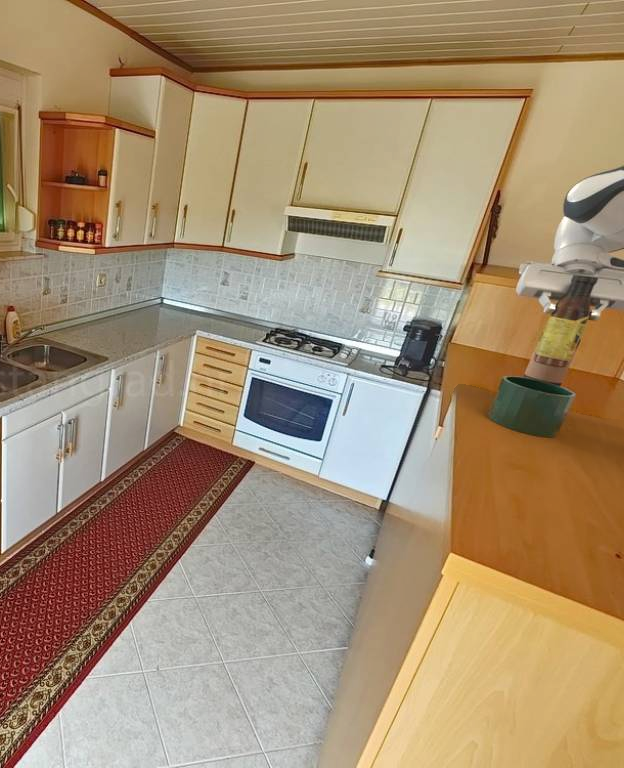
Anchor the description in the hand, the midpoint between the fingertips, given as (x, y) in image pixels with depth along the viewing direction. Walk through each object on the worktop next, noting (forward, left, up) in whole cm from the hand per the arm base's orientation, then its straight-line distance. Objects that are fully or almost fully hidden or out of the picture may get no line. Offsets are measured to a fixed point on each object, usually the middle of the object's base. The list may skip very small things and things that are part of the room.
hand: (571, 315), depth 106 cm
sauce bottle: (0, -1, -12) cm, 12 cm away
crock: (0, -1, -27) cm, 27 cm away
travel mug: (-5, -19, -27) cm, 33 cm away
